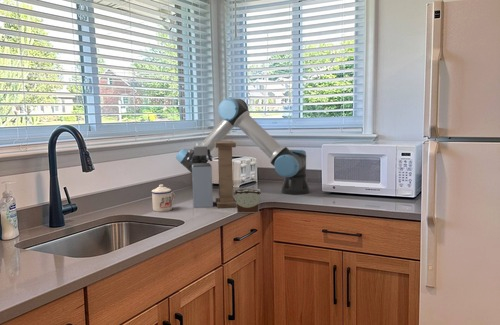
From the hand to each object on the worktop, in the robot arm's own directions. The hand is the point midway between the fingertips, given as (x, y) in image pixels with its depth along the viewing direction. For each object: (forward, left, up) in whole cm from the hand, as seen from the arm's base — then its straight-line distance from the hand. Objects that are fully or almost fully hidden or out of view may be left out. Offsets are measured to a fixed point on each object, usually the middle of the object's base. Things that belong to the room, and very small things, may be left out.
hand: (200, 145), depth 214 cm
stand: (-13, +7, -28) cm, 32 cm away
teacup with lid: (+15, +15, -28) cm, 35 cm away
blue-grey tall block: (-1, +6, -28) cm, 29 cm away
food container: (-24, +21, -28) cm, 43 cm away
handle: (0, +2, -4) cm, 4 cm away
